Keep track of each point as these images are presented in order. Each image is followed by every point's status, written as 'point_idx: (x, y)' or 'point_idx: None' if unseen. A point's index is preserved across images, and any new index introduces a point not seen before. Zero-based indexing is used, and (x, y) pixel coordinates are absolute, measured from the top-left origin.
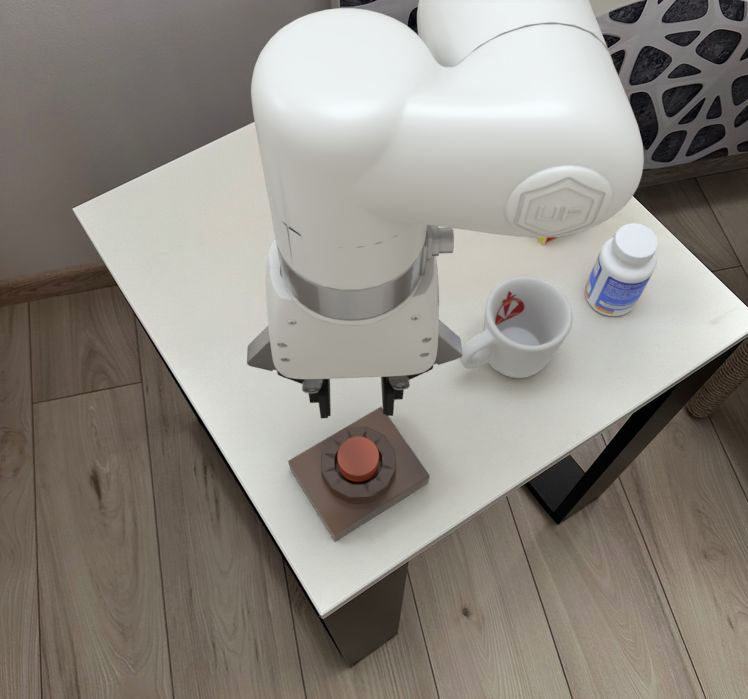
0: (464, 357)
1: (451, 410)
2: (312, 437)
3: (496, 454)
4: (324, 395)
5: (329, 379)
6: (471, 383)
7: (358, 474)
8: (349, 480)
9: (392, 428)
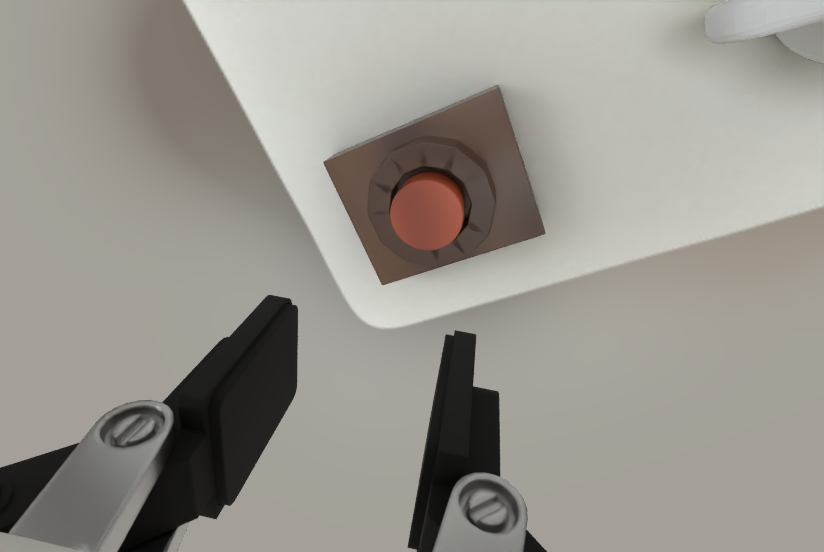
0: (721, 34)
1: (632, 97)
2: (374, 104)
3: (674, 197)
4: (213, 516)
5: (282, 335)
6: (699, 43)
7: (420, 248)
8: None
9: (507, 138)
